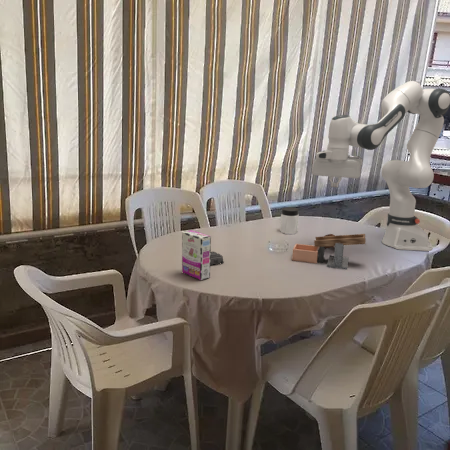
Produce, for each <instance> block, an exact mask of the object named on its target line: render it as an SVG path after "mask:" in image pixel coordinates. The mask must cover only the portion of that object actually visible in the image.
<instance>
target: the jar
mask: <svg viewBox="0 0 450 450" xmlns="http://www.w3.org/2000/svg"><path fill="white" fill-rule="evenodd" d="M281 209H282V210H281V215H280V226H279V230H280V231H279V232H280V233H282V234H285V235H296V234H298V231H299V219H300V218H299V217H300V214H299V208H296V207H288V206H287V207H282V208H281Z"/></svg>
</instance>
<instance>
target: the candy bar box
mask: <svg viewBox="0 0 450 450" xmlns="http://www.w3.org/2000/svg"><path fill="white" fill-rule="evenodd" d="M181 234H182V236H181V242H182V243H181V247H182V248H181V253H182V255H181V257H182V258H181V265H182V266H181V268H182V269H181V273H182V272H183V273H182V274H184V273H185V274H184V275H186V274H187V275H186V276H188V275H190V276H189V277H191V276H192V277H191V278H193V277H194V279H196V278H197V279H196V280H198V279H199V280H198V281H200V280H202V281H205V280H208V279H210V278H211V265H210V254H211V252H212V251H211V250H212V249H211V245H212V240H211V239H212V236H211V235H208V234H205V233H201V232H199V231H196V230H191V229H190V230H185V231H182V232H181ZM207 278H208V279H207ZM204 279H205V280H204Z"/></svg>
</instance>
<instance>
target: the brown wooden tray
mask: <svg viewBox="0 0 450 450" xmlns="http://www.w3.org/2000/svg"><path fill="white" fill-rule="evenodd" d="M366 241H367V240H366V233H358V234H356V233H355V234H342V235H341V234H340V235H335V236H325V235H323V236H315V239H314V240H313V244H314V245H313V246H315V247H323V246H334V247H335V243H343V245H344V246H355V245H366Z"/></svg>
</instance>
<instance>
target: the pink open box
mask: <svg viewBox="0 0 450 450" xmlns="http://www.w3.org/2000/svg"><path fill="white" fill-rule="evenodd" d="M318 255H319V247H315V245H312V244H311V245H310V244H303V243H295V244H294V245H293V249H292V255H291V261H293V262H299V263H300V262H301V263H308V264H318Z"/></svg>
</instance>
